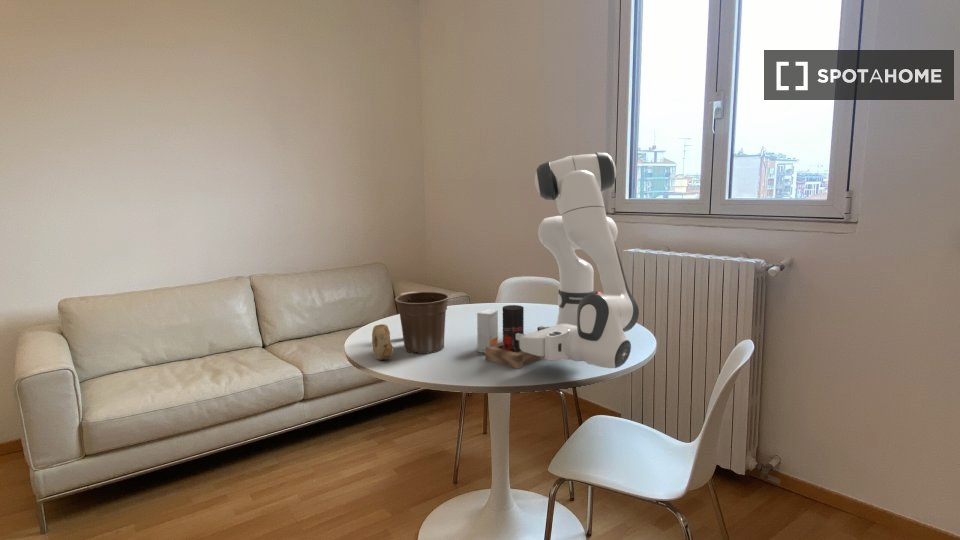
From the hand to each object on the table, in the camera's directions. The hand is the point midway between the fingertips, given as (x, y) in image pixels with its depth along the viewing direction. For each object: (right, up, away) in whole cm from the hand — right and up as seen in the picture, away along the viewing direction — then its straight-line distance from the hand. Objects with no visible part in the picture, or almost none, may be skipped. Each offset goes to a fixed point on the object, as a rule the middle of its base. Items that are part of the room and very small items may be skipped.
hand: (528, 332), depth 150 cm
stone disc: (-42, -9, +7) cm, 43 cm away
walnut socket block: (-3, -8, +5) cm, 10 cm away
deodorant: (-4, -8, +5) cm, 11 cm away
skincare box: (-11, -7, +14) cm, 19 cm away
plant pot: (-31, -7, +16) cm, 36 cm away
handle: (-36, -5, +28) cm, 45 cm away
